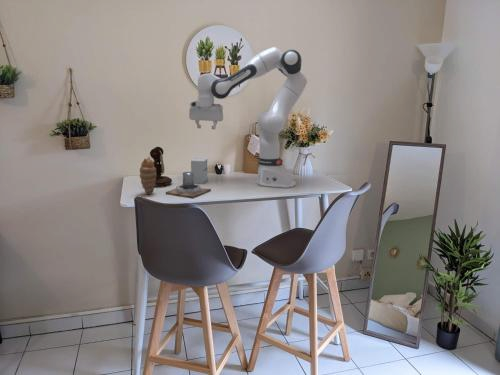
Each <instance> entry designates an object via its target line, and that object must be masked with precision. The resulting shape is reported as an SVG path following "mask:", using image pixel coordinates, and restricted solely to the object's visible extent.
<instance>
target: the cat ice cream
mask: <svg viewBox="0 0 500 375" xmlns="http://www.w3.org/2000/svg"><path fill="white" fill-rule="evenodd" d="M140 164H141V166H140V168H139V178H140V184H141V185H142V186H141V187H142V188H143V189H144V193H145V194H147V195H151V194H153V192H154V188H155V186H156V185H155V181H156V176H157V174H156V168H155V167H154V160H153V159H151V156H148V157H147V158H144V160H143V161H142V162H141V163H140Z"/></svg>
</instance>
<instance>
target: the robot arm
mask: <svg viewBox="0 0 500 375" xmlns="http://www.w3.org/2000/svg"><path fill="white" fill-rule="evenodd" d="M275 69H277V70H278V71H279V72H280V73H282V74H283V75H284V76H285V77H286V80H285V81H284V83H283V84H282V85H281V87H280V88H279V90H278V92H277V93H276V94H275V96H274V98H273V102H272V104H271V106H270V108H269V109H268V110H265V111H262V112H261V113H260V114H258V116H257V118H256V121H257V122H256V123H257V132H258V141H259V147H258V148H259V149H258V150H259V152H258V153H259V155H258V161H257V162H258V163H257V165H258V166H257V167H258V170H257V176H256V180H255V183H256V184H258V185H259V186H260V187H272V188H273V187H274V188H283V189H284V188H285V189H287V188H288V189H289V188H292V187H295V186H296V185H297V182H296V180H293V174H292V172H291V171H290V170H288V169H287V167H286V166H284V165H283V163H284V159H281V158H280V150H281V149H280V148H281V147H280V146H281V145H280V140H279V133H280V132H282V131H283V130H284V128H285V126H286V122H287V119H288V117H289V115H290V113H291V111H292V109H293V107H295V105H296V104H297V101H298V100H299V99H300V97H301V96H302V94H303V92H304V90H305V88H306V85H307V84H308V78H307V77H306V76H305V74H303V73H302V72H301V69H302V56H301V54H300V52H299V51H297V50H295V49H287V50H285V51H284V52H282V51H281V50H280V49H279V48H278V47H276V46H272V47H269V48H267V49H264V50H263V51H261V52H259V53H257V54H256V55H254V56H253V57H251V58H250V59H249V60H248V61H247V62H246V63H245V65H244V66H243V67H242V68H241V69H239V70H237V71H236V72H234V73H233V74H231V75H229V76H227V77H225V78H221V77H218V76H216V75H215V74H214V73H212V72H204V73H200V74H199V76H198V78H197V100H194V101H191V102H190V103H189V106H190V107H189V113H188V114H189V115H188V117H189V120H191V121H195V122H194V123H195V124H196V128H197V129H202V124H200V121H206V122H207V121H208V122H212V123H213V125H211V129H212V130H216V128H217V125H218V122H222V121H224V113H223V109H224V107H223V105H222V104H220V103H215V98H216V99H219V100H220V99H221V100H222V99H226V98H227V97H228V96H229V95H230V93H231V92H232V91H233V89H235V88H236V87H239V85H241V84H243V83H245V82H246V81H248V80H252V79H257V78H260V77H262V76H265V75H266V74H268V73H270V72H271V71H274V70H275Z"/></svg>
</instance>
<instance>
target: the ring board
mask: <svg viewBox="0 0 500 375" xmlns="http://www.w3.org/2000/svg"><path fill="white" fill-rule="evenodd" d="M211 191H212V190H211V188H204V187H201V185H199V184H197V183H194V189H183V183H182V184H179V185H176V186H175V188H173V189H171V190H167V191H166V192H165V195H170V196H175V197H180V198H187V199H195V198H198V197H200V196H202V195H206V194H208V193H209V192H211Z"/></svg>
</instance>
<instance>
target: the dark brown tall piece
mask: <svg viewBox="0 0 500 375" xmlns="http://www.w3.org/2000/svg"><path fill="white" fill-rule="evenodd" d="M149 155H150V156H149V157H150V158H151V159H152V160H153V162H154V167H155V168H156V174H157V176H156V181H155V186H161V185H163V186H164V187H165V188H166V186H167V185H169V184H171V183H173V179H172V178H171V177H169V176H166V175H164V174H165V163H164V160H163V158H164V157H163V155H164V149H163V148H162V147H160V146H155V147H154V148H152V149H151V150H150V151H149Z"/></svg>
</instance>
